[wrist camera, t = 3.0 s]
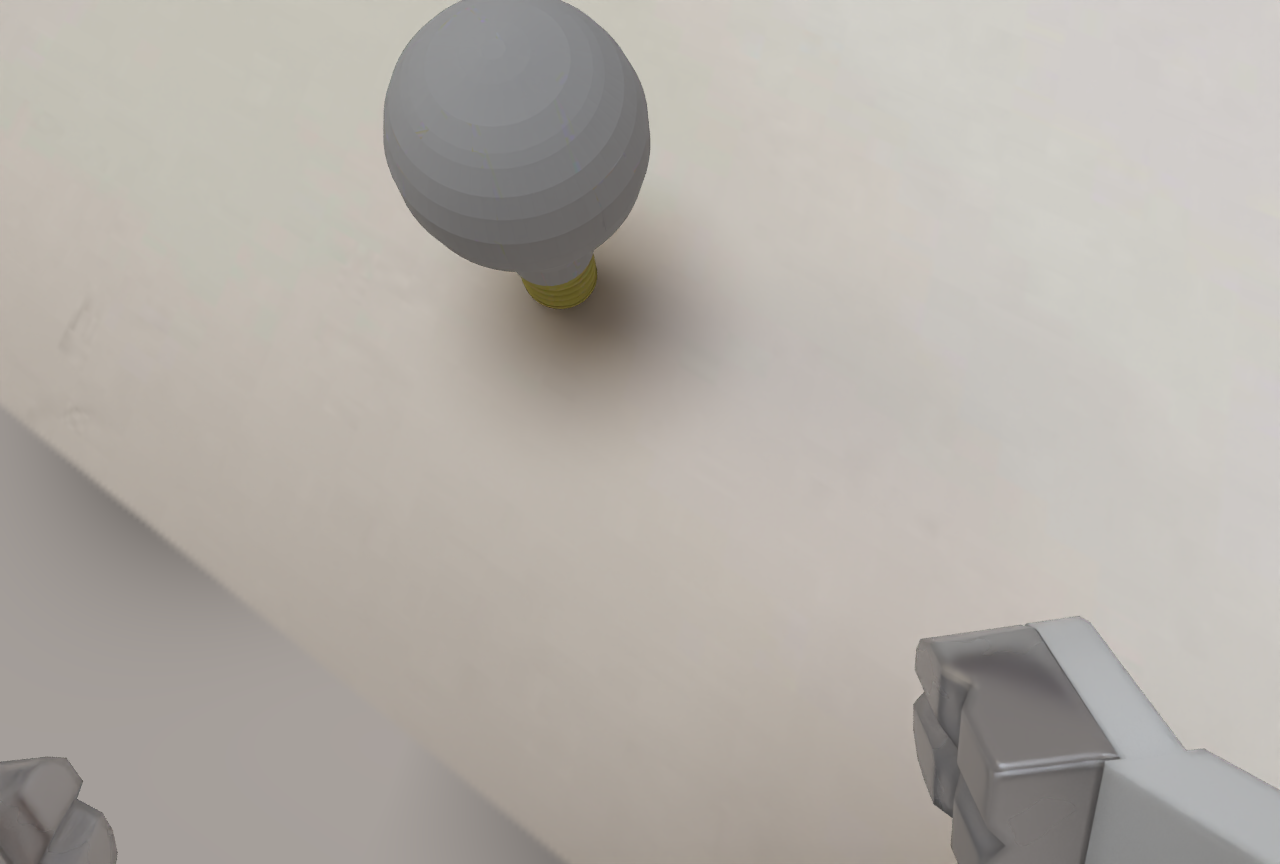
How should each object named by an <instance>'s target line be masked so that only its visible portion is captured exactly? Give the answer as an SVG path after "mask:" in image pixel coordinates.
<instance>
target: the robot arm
mask: <svg viewBox="0 0 1280 864" xmlns="http://www.w3.org/2000/svg"><path fill="white" fill-rule="evenodd" d="M915 671H916V674H917V676H918V678H919V680H920V683H921V685H922V687H923V689H924V693H923V694H922V695H921V696H920V697H919V698H918V699H917V701H916V702H915V703H914V704H913V731H914V738H915V744H916V751H917V757H918V761H919V764H920V768H921V771H922V775H923V778H924V781H925V784H926V786H927V789H928V791H929V794H930V796H931V799H932V801H933V804H934V805H936V806H937V807H938V808H940V809H941V810H942V811H944V812H945V813H946V814H948V815H949V816H951V817H952V818H953V820H952V835H951V848H952V850H953V853H954V855H955V858H956V860H957V862H958V864H1280V790H1279V789H1277V788H1275V787H1273V786H1271V785H1270V784H1268V783H1266V782H1264V781H1262V780H1261V779H1259V778H1257V777H1255V776H1253V775H1251V774H1250V773H1248V772H1246V771H1244V770H1242V769H1240V768H1239V767H1237V766H1235V765H1233V764H1231V763H1230V762H1228V761H1226V760H1224V759H1222V758H1220V757H1219V756H1217V755H1215V754H1213V753H1211V752H1209V751H1208V750H1206V749H1195V750H1186V749H1185V748H1184V746H1183V745H1182V744H1181V742H1180V741H1179V740H1178V738H1177V737H1176V736H1175V734H1174V733H1173V732H1172V730H1171V729H1170V728H1169V726H1168V725H1167V724H1166V722H1165V721H1164V720H1163V718H1162V717H1161V716H1160V714H1159V713H1158V712H1157V710H1156V709H1155V708H1154V706H1153V705H1152V704H1151V702H1150V701H1149V700H1148V698H1147V697H1146V696H1145V694H1144V693H1143V692H1142V690H1141V689H1140V688H1139V686H1138V685H1137V684H1136V682H1135V681H1134V680H1133V678H1132V677H1131V676H1130V674H1129V673H1128V672H1127V670H1126V669H1125V668H1124V666H1123V665H1122V664H1121V662H1120V661H1119V660H1118V658H1117V657H1116V656H1115V654H1114V653H1113V652H1112V650H1111V649H1110V648H1109V646H1108V645H1107V644H1106V642H1105V641H1104V640H1103V638H1102V637H1101V636H1100V634H1099V633H1098V632H1097V631H1096V629H1095V628H1094V627H1093V625H1092V624H1091V623H1090V622H1089V621H1087V620H1085V619H1084V618H1082V617H1080V616H1076V617H1069V618H1062V619H1055V620H1048V621H1041V622H1034V623H1028V624H1026V625H1024V626H1023V625H1015V626H1008V627H1001V628H994V629H987V630H980V631H973V632H966V633H959V634H952V635H945V636H938V637H931V638H924V639H920V641H919V644H918V646H917V649H916V660H915ZM82 783H83V780H82V779H81V778H80V776H79V775H78V773H77V772H76V771H75V769H74V768H73V766H72V765H71V763H70V762H69V761H68V760H67V758H61V757H40V758H31V759H22V760H12V761H3V762H0V864H116V860H117V848H116V844H115V839H114V834H113V830H112V828H111V826H110V825H109V823H108V821H107V820H106V818H105V816H104V814H103V813H102V812H100V811H98V810H97V809H95V808H93V807H91V806H89V805H87V804H85V803H84V802H82V801H79V800H78V799H77V797H78V794H79V791H80V789H81V786H82Z"/></svg>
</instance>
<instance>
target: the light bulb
mask: <svg viewBox="0 0 1280 864" xmlns="http://www.w3.org/2000/svg"><path fill="white" fill-rule="evenodd" d="M383 131H384V149H385V155H386V159H387V164H388V167H389V169H390V172H391V175H392V177H393V179H394V181H395V183H396V185H397V187H398V189H399V191H400V193H401V195H402V197H403V199H404V201H405V203H406V205H407V207H408V208H409V210H410V211H411V213H412V214H413V216H414V217H415V218H416V220H417V221H418V222H419V223H420V224H421V225H422V226H423V227H424V228H425V229H426V230H427V231H428V232H429V233H430V234H431V235H432V236H434V237H435V238H436V239H437V240H439V241H440V242H441V243H443V244H444V245H445V246H446V247H448V248H449V249H450V250H451V251H453V252H454V253H456V254H458V255H459V256H461V257H463V258H465V259H467V260H469V261H471V262H473V263H476V264H478V265H481V266H484V267H488V268H491V269H496V270H502V271H511V272H517V273H518V274H519V275H520V276H521V278H522V281H523V284H524V286H525V288H526V289H527V291H528V293H529V294H530V295H531V296H532V298H533V299H534V300H536V301H537V302H539V303H540V304H542V305H544V306H546V307H550V308H554V309H565V308H571V307H573V306H576V305H578V304H580V303H581V302H583V301H585V300H586V299H587V298H588V297H589V296H590V294H591V293H592V291H593V290H594V287H595V285H596V281H597V268H596V264H595V259H594V254H593V252H594V250H595V249H596V248H597V247H599V246H600V245H601V244H603V243H604V242H605V241H606V240H607V239H608V238H609V237H611V236H612V235H613V234H614V233H615V231H616V230H617V229H618V228H619V227H620V226H621V225H622V223H623V222H624V221H625V219H626V218H627V216H628V215H629V213H630V211H631V210H632V208H633V206H634V204H635V201H636V199H637V197H638V194H639V191H640V188H641V185H642V183H643V180H644V177H645V174H646V171H647V166H648V162H649V155H650V131H649V121H648V111H647V103H646V99H645V94H644V91H643V88H642V85H641V82H640V80H639V78H638V76H637V74H636V72H635V70H634V69H633V67H632V65H631V64H630V62H629V61H628V59H627V58H626V56H625V54H624V53H623V51H622V50H621V48H620V47H619V45H618V44H617V43H616V42H615V40H614V39H613V38H612V37H611V36H610V35H609V34H608V33H607V32H606V31H605V30H604V29H603V28H602V27H601V26H599V25H598V24H597V23H596V22H595V21H594V20H592V19H591V18H590V17H589V16H588V15H586V14H585V13H583V12H582V11H580V10H579V9H577V8H575V7H574V6H572V5H570V4H568V3H565V2H563V1H561V0H462V1H460V2H458V3H455V4H454V5H452V6H450V7H448V8H446V9H445V10H443V11H442V12H440V13H439V14H438V15H436V16H435V17H434V18H433V19H432V20H430V21H429V22H428V23H427V24H426V25H424V26H423V27H422V28H421V29H420V30H419V31H418V32H417V33H416V34H415V36H414V37H413V38H412V39H411V40H410V41H409V43H408V44H407V46H406V47H405V49H404V50H403V52H402V54H401V55H400V57H399V59H398V61H397V63H396V66H395V68H394V71H393V74H392V77H391V80H390V83H389V86H388V89H387V93H386V98H385V104H384V130H383Z"/></svg>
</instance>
